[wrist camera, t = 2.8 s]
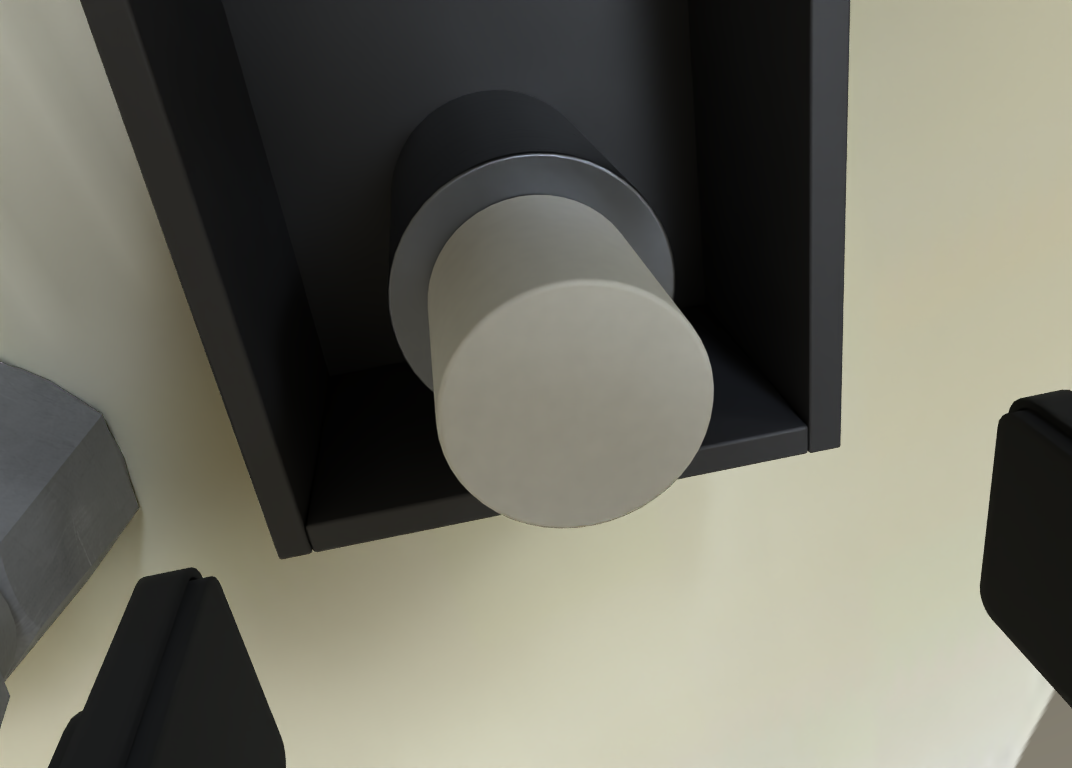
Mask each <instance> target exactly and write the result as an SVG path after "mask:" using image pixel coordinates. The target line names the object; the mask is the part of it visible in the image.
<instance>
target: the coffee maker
mask: <svg viewBox="0 0 1072 768" xmlns="http://www.w3.org/2000/svg"><path fill="white" fill-rule="evenodd" d="M80 2H81V4H82V7H83V10H84V13H85V16H86V18H87V21H88V24H89V27H90V30H91V33H92V35H93V38H94V41H95V44H96V47H97V49H98V52H99V55H100V58H101V61H102V63H103V66H104V69H105V72H106V75H107V77H108V80H109V83H110V86H111V89H112V91H113V94H114V97H115V100H116V103H117V105H118V108H119V111H120V114H121V117H122V119H123V122H124V125H125V128H126V131H127V133H128V136H129V139H130V142H131V145H132V147H133V150H134V153H135V156H136V159H137V161H138V164H139V167H140V170H141V173H142V175H143V178H144V181H145V184H146V187H147V189H148V192H149V195H150V198H151V201H152V203H153V206H154V209H155V212H156V215H157V217H158V220H159V223H160V226H161V229H162V232H163V234H164V237H165V240H166V243H167V246H168V248H169V251H170V254H171V257H172V260H173V262H174V265H175V268H176V271H177V274H178V276H179V279H180V282H181V285H182V288H183V290H184V293H185V296H186V299H187V302H188V304H189V307H190V310H191V313H192V316H193V318H194V321H195V324H196V327H197V330H198V332H199V335H200V338H201V341H202V344H203V346H204V349H205V352H206V355H207V358H208V360H209V363H210V366H211V369H212V372H213V374H214V377H215V380H216V383H217V386H218V388H219V391H220V394H221V397H222V400H223V402H224V405H225V408H226V411H227V414H228V416H229V419H230V422H231V425H232V428H233V431H234V433H235V436H236V439H237V442H238V445H239V447H240V450H241V453H242V456H243V459H244V461H245V464H246V467H247V470H248V473H249V475H250V478H251V481H252V484H253V487H254V489H255V492H256V495H257V498H258V501H259V503H260V506H261V509H262V512H263V515H264V517H265V520H266V523H267V526H268V529H269V531H270V534H271V537H272V540H273V543H274V545H275V548H276V551H277V554H278V556H279V558H280V559H286V558H291V557H296V556H301V555H306V554H310V553H311V552H312V549H313V550H314V552H320V551H325V550H330V549H335V548H340V547H344V546H349V545H354V544H359V543H364V542H369V541H374V540H379V539H384V538H389V537H394V536H399V535H404V534H409V533H414V532H419V531H424V530H429V529H434V528H439V527H444V526H449V525H454V524H458V523H463V522H468V521H473V520H478V519H483V518H488V517H493V516H498V515H502V514H499V513H497V512H496V511H494V510H492V509H491V508H489V507H488V506H486V505H484V504H483V503H482V502H480V501H479V500H478V499H477V498H476V497H474V496H473V495H472V494H471V493H470V492H469V491H468V490H467V489H466V488H465V487H464V486H463V485H462V484H461V483H460V482H459V480H458V479H457V477H456V476H455V474H454V473H453V471H452V470H451V468H450V467H449V465H448V462H447V460H446V458H445V456H444V454H443V451H442V448H441V445H440V442H439V438H438V432H437V425H436V414H435V400H434V392H432V391H431V390H430V389H429V388H428V387H427V386H426V385H425V384H424V383H423V382H422V381H421V380H420V379H419V378H418V376H417V375H416V374H415V373H414V372H413V370H412V369H411V367H410V366H409V364H408V363H407V361H406V360H405V358H404V357H403V354H402V352H401V350H400V348H399V346H398V344H397V342H396V339H395V336H394V333H393V330H392V326H391V322H390V316H389V310H388V266H389V242H390V218H391V195H392V183H393V175H394V171H395V167H396V163H397V160H398V158H399V155H400V153H401V150H402V148H403V147H404V145H405V143H406V141H407V140H408V138H409V136H410V135H411V134H412V132H413V131H414V130H415V128H416V127H417V126H418V125H419V124H420V123H421V122H422V121H423V120H424V119H425V118H426V117H427V116H428V115H429V114H431V113H432V112H433V111H435V110H436V109H437V108H439V107H440V106H442V105H444V104H446V103H447V102H449V101H451V100H453V99H456V98H458V97H461V96H463V95H466V94H471V93H475V92H479V91H489V90H505V91H512V92H518V93H523V94H526V95H529V96H532V97H535V98H537V99H539V100H541V101H543V102H545V103H547V104H549V105H550V106H552V107H553V108H555V109H556V110H558V111H559V112H560V113H561V114H563V115H564V116H565V117H566V118H567V119H568V120H569V121H570V122H571V123H572V124H573V125H574V126H575V127H576V128H577V129H578V130H579V131H580V132H581V133H582V134H583V135H584V136H585V137H586V138H587V139H588V140H589V141H590V142H591V143H592V144H593V145H594V146H595V147H596V148H597V149H598V150H599V151H600V152H601V153H602V155H603V156H604V157H605V158H606V159H607V160H608V161H609V162H610V163H611V164H612V165H613V166H614V167H615V168H616V169H617V170H618V171H619V172H620V173H621V174H622V175H623V176H624V177H625V178H626V179H627V180H628V181H629V182H630V183H631V184H632V185H633V186H634V187H635V188H636V189H637V190H638V191H639V193H640V194H641V195H642V196H643V197H644V198H645V200H646V201H647V202H648V203H649V204H650V205H651V207H652V209H653V210H654V212H655V213H656V215H657V216H658V218H659V220H660V221H661V224H662V226H663V228H664V230H665V232H666V235H667V237H668V240H669V244H670V247H671V251H672V254H673V261H674V268H675V294H674V301H673V302H674V303H675V304H676V305H677V307H678V308H679V309H680V311H681V312H682V313H683V315H684V316H685V317H686V318H687V320H688V321H689V322H690V324H691V325H692V326H693V328H694V329H695V331H696V333H697V334H698V336H699V337H700V339H701V341H702V343H703V345H704V347H705V349H706V352H707V354H708V358H709V361H710V365H711V368H712V375H713V383H714V397H713V407H712V413H711V419H710V422H709V425H708V429H707V432H706V435H705V437H704V439H703V441H702V444H701V446H700V448H699V450H698V452H697V453H696V455H695V456H694V458H693V460H692V461H691V463H690V464H689V465H688V467H687V468H686V469H685V471H684V472H683V473H682V474H681V476H680V477H679V478H678V479H681V478H686V477H691V476H696V475H701V474H706V473H711V472H716V471H721V470H726V469H731V468H736V467H741V466H746V465H751V464H756V463H761V462H766V461H771V460H776V459H781V458H786V457H790V456H795V455H800V454H805V453H807V451H809V452H810V453H813V452H818V451H823V450H828V449H833V448H838V447H840V436H841V391H842V345H843V299H844V254H845V208H846V163H847V117H848V72H849V26H850V0H80Z"/></svg>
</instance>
